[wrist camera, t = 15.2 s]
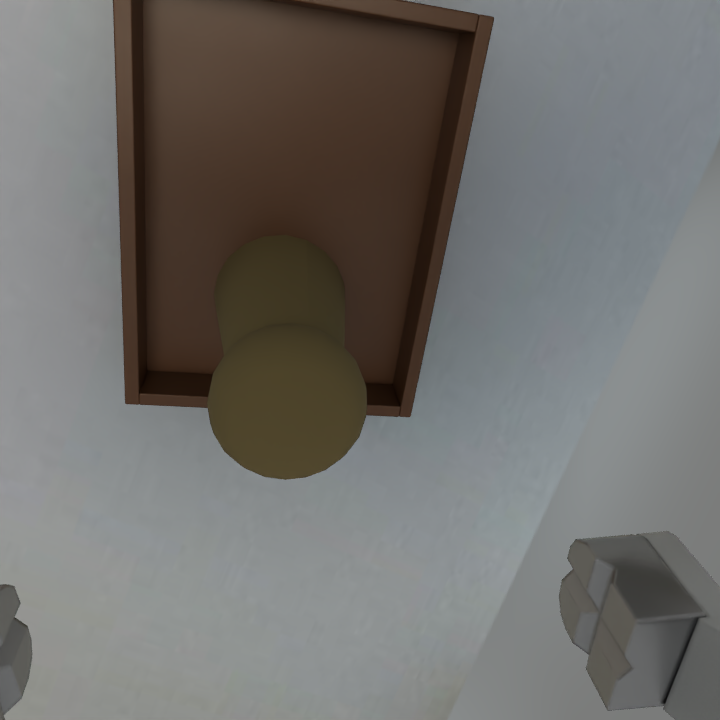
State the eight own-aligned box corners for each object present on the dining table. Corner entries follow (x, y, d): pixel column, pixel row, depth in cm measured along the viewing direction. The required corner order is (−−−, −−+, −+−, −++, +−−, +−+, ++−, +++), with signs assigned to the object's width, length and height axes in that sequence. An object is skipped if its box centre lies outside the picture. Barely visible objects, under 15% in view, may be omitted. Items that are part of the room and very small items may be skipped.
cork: (288, 379, 30) (301, 536, 21) (186, 306, 28) (146, 446, 18) (372, 291, 29) (427, 417, 19) (272, 206, 26) (278, 301, 17)
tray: (471, 19, 25) (495, 16, 22) (399, 389, 32) (410, 417, 30) (127, -42, 22) (110, -53, 20) (136, 374, 30) (125, 404, 27)
